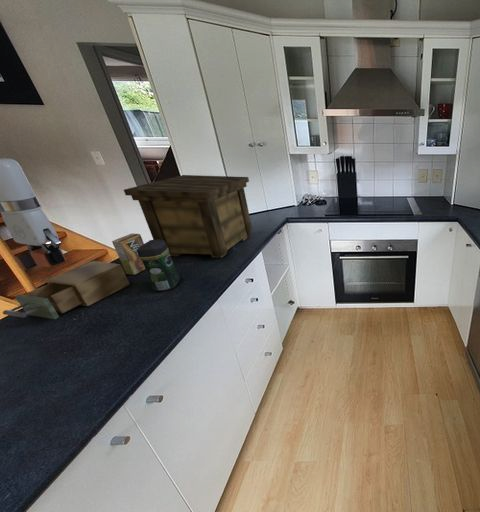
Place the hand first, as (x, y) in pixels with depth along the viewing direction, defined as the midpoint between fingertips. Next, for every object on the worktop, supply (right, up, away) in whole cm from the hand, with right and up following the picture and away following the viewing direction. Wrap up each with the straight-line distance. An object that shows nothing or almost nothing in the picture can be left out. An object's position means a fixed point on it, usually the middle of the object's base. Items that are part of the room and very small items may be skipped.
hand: (51, 261), depth 84 cm
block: (0, 0, 0) cm, 0 cm away
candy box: (-3, -4, +34) cm, 35 cm away
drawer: (-7, -16, +8) cm, 19 cm away
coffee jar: (+17, -10, +24) cm, 31 cm away
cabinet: (-5, -12, +18) cm, 22 cm away
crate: (+13, +7, +58) cm, 59 cm away
